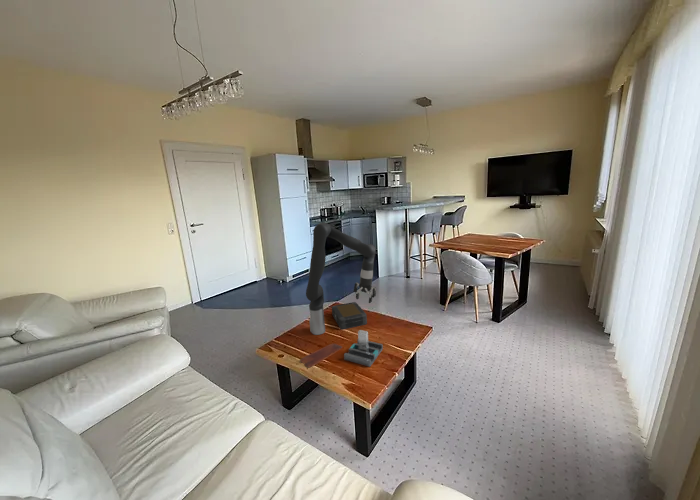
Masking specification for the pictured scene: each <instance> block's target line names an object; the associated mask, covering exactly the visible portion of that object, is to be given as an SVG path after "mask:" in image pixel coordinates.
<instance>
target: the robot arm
mask: <svg viewBox="0 0 700 500" xmlns="http://www.w3.org/2000/svg"><path fill="white" fill-rule="evenodd" d="M312 237H313V238H312V239H313V243H312V249H311V257H310V263H309V264H310V265H309V274H308V281H307V286H306V290H305V296H306V298H307V300H308V301H310V302H309V305H308V307H309V320H308V321H309V330H310V333H311V334H312V335H315V336H317V335H322V334H324V333H326V325H325V324H326V323H325V314H324V302H325V298H324V297H325V296H324V295H325V294H324V289H323V287H322V285H321V284H320V281H321V278H322V275H323V273H324V270H325V268H326V257H327V256H326V249H325V246H326V241H327V238H330V239H333V240H335V241H337V242H339V243H340V244H341V245H342V246H343V247H345V248H348V249H350V250H352V251H355V252H357V253H358V254H360V255H362V256H363V260H362V263H361V271H360V278H359V282H355V283H354V287H353V293H355V298H356V299H355V300H359V299H360V292H363V293H366V294H367V295H368V303H369V304H370V303H372V302H373V298H375V297H376V295H377V287H374V286H373V287H372V285H373V278H374V266H375V265H374V263H375V262H374V261H375V257H376V247H375V245H373V243H368V244H366V243H364V242H363V241H361V239H358V238H355V237H353V236H351V235H348V234H347V233H344V232H342V231H340V230H338V229H337V228H336V227H334V226H332V225H330V224H329V223H327V222H324V221H323V222H319V223H317V224H316V225H315V226H314V228H313V236H312ZM358 287H359V289H358Z"/></svg>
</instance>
